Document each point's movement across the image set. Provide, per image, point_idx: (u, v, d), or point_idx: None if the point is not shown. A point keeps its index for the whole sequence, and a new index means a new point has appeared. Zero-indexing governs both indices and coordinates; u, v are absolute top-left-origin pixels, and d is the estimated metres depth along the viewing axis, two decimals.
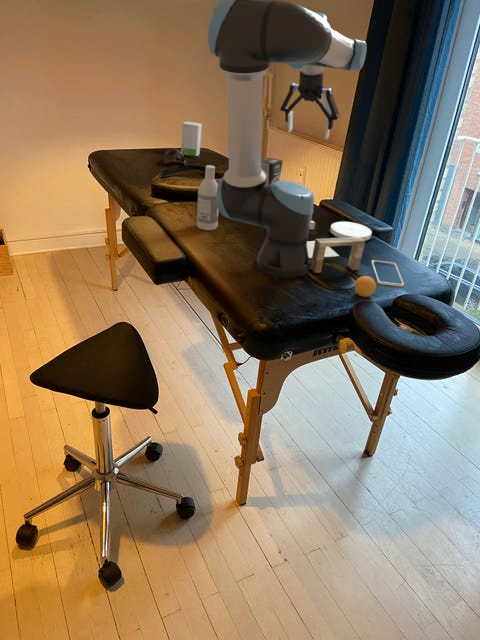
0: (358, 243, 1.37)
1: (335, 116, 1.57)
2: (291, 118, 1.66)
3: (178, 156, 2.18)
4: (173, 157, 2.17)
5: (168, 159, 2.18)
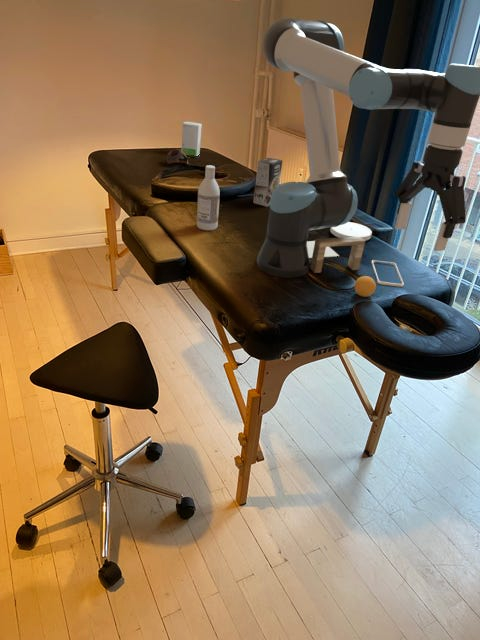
0: (358, 243, 1.37)
1: (455, 218, 1.02)
2: (405, 211, 1.17)
3: (181, 156, 2.17)
4: (176, 157, 2.16)
5: (171, 159, 2.17)
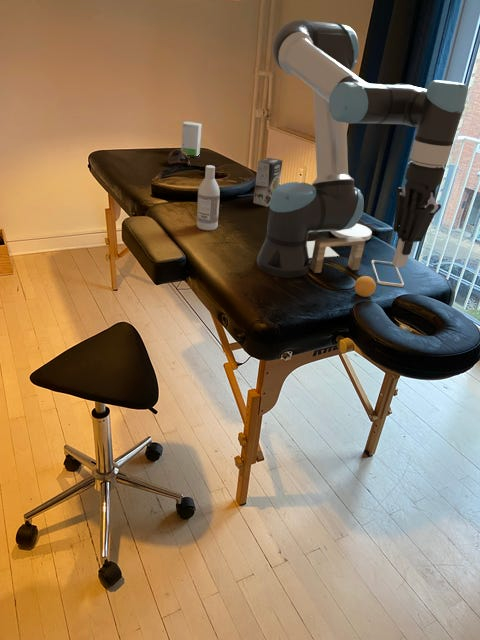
0: (358, 243, 1.37)
1: (412, 237, 1.06)
2: None
3: (182, 157, 2.17)
4: (177, 158, 2.16)
5: (172, 160, 2.17)
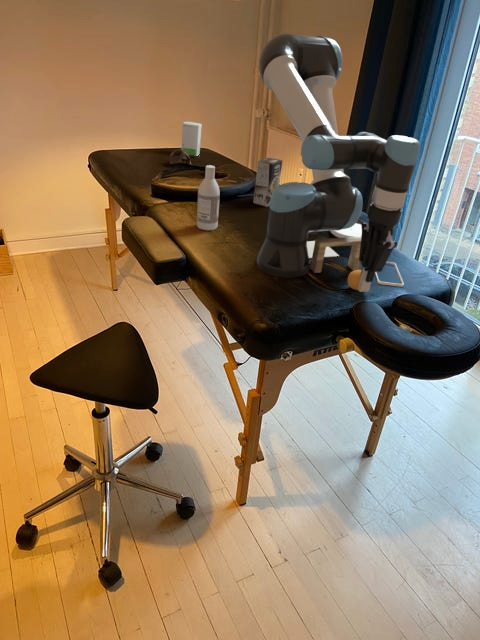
0: (358, 243, 1.37)
1: (373, 268, 1.21)
2: None
3: (184, 157, 2.17)
4: (179, 158, 2.16)
5: (174, 160, 2.17)
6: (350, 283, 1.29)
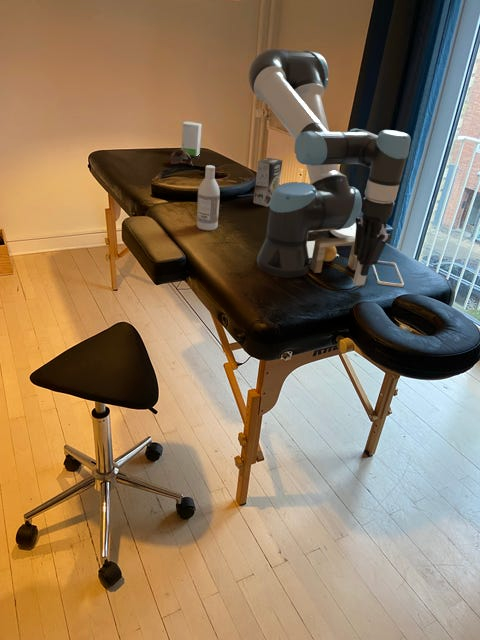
0: None
1: (368, 261, 1.23)
2: None
3: (185, 157, 2.17)
4: (180, 158, 2.16)
5: (175, 160, 2.17)
6: None
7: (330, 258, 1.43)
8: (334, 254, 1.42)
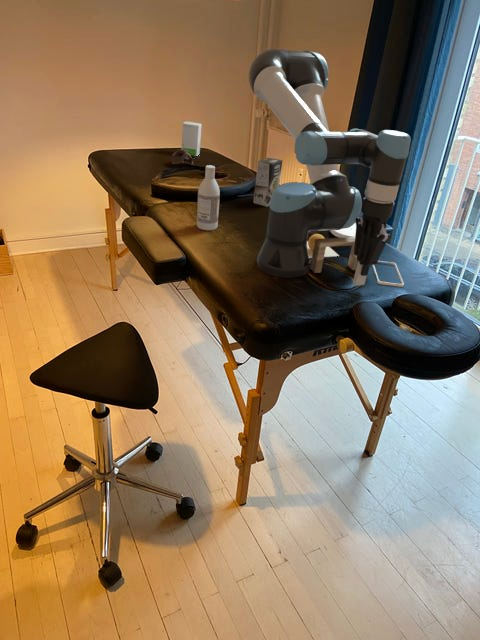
0: None
1: (368, 261, 1.23)
2: None
3: (186, 157, 2.17)
4: (181, 158, 2.16)
5: (176, 160, 2.17)
6: (309, 240, 1.49)
7: None
8: None
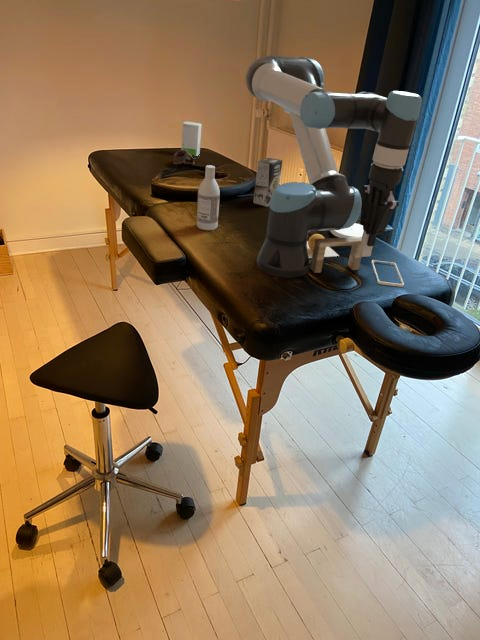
0: (358, 243, 1.37)
1: (375, 230, 1.18)
2: None
3: (187, 157, 2.17)
4: (182, 158, 2.16)
5: (177, 161, 2.17)
6: (309, 240, 1.49)
7: None
8: None
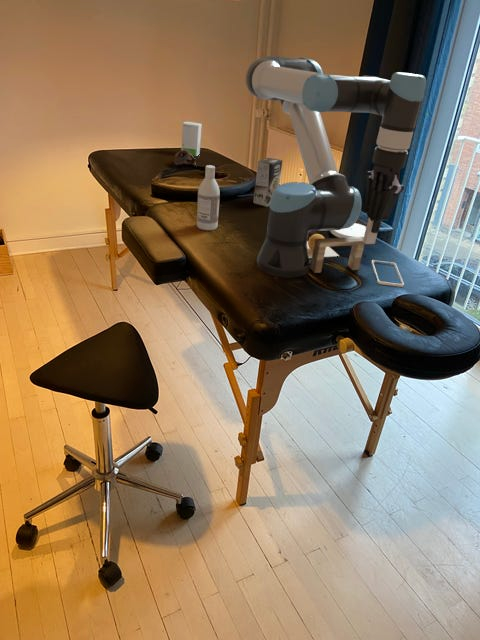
0: (358, 243, 1.37)
1: (379, 216, 1.16)
2: None
3: (189, 158, 2.17)
4: (184, 159, 2.16)
5: (179, 161, 2.17)
6: (309, 240, 1.49)
7: None
8: None
